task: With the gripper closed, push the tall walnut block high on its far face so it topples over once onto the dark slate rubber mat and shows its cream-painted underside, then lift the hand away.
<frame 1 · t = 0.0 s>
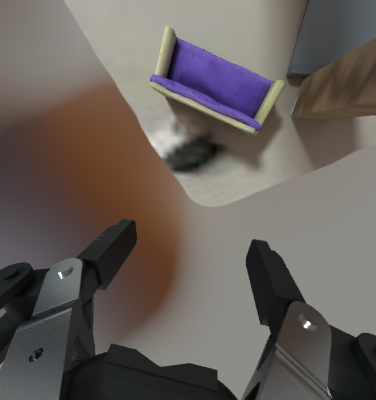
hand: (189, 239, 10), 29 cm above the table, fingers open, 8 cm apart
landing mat: (352, 12, 23), on the table
walnut block: (318, 99, 28), on the table
toy sofa: (214, 94, 30), on the table
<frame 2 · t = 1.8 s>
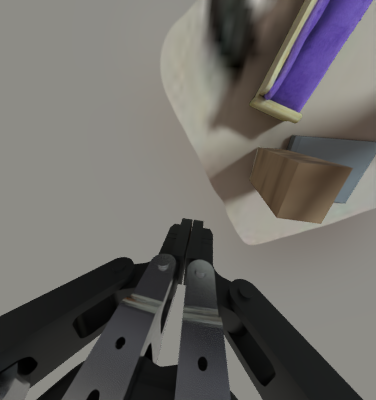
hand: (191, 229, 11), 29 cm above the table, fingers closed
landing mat: (317, 170, 34), on the table
walnut block: (266, 165, 35), on the table
toy sofa: (298, 56, 27), on the table
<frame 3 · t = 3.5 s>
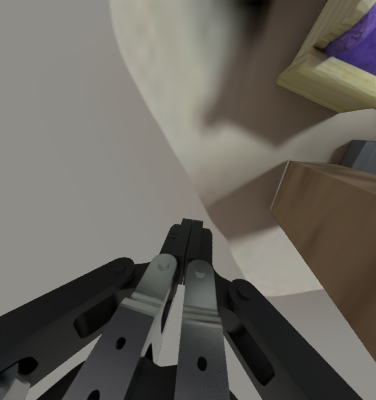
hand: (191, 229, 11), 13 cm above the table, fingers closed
walnut block: (299, 189, 21), on the table
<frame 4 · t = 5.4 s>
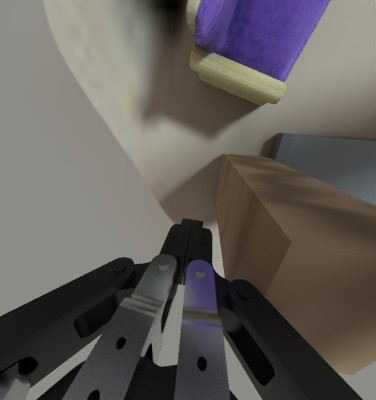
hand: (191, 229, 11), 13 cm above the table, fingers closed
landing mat: (321, 191, 21), on the table
walnut block: (239, 182, 22), on the table, touching hand
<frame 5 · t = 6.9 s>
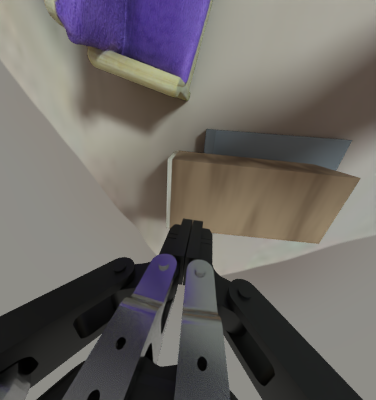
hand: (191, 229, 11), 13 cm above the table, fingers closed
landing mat: (255, 185, 22), on the table
walnut block: (171, 187, 18), point 5 cm above the table, tilted 96°, touching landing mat
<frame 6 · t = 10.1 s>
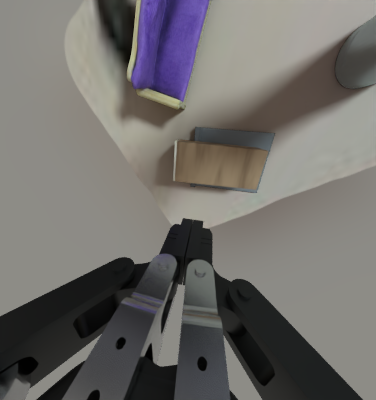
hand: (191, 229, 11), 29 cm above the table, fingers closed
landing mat: (226, 161, 36), on the table
walnut block: (175, 159, 32), point 5 cm above the table, tilted 96°, touching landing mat
toy sofa: (180, 46, 28), on the table
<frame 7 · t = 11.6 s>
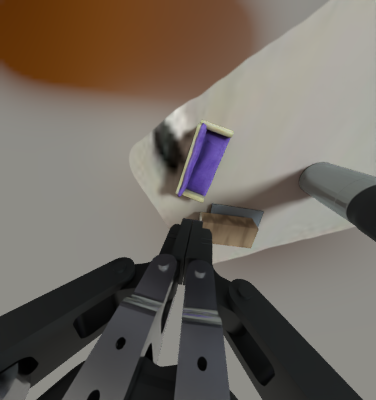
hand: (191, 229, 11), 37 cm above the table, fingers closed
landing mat: (231, 223, 53), on the table
walnut block: (198, 226, 49), point 5 cm above the table, tilted 96°, touching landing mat
toy sofa: (203, 161, 45), on the table
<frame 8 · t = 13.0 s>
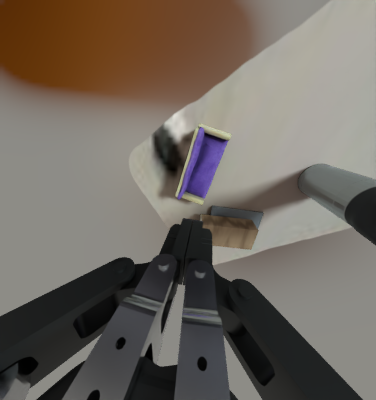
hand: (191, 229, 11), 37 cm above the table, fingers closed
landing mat: (231, 225, 53), on the table
walnut block: (199, 228, 50), point 5 cm above the table, tilted 96°, touching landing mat
toy sofa: (202, 164, 46), on the table
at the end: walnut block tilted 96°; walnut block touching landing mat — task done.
